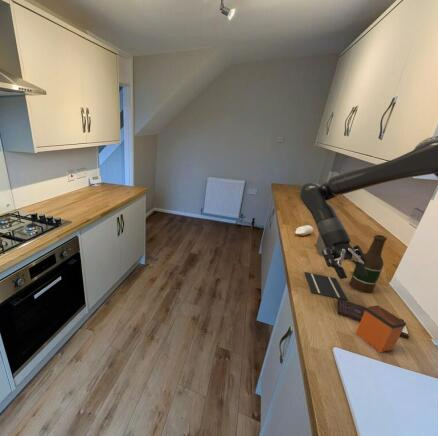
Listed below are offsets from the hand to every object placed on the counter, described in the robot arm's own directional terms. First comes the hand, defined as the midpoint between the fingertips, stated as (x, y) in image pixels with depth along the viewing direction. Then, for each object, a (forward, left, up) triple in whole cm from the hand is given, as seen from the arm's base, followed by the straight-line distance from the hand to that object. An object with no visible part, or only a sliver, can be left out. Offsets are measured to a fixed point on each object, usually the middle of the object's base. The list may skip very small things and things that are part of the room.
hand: (354, 277), depth 79 cm
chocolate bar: (-9, -3, -16) cm, 19 cm away
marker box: (-6, +9, -16) cm, 20 cm away
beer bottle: (-13, -24, -16) cm, 32 cm away
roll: (0, -76, -10) cm, 77 cm away
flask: (-7, -57, -16) cm, 60 cm away
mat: (+1, -19, -16) cm, 25 cm away
